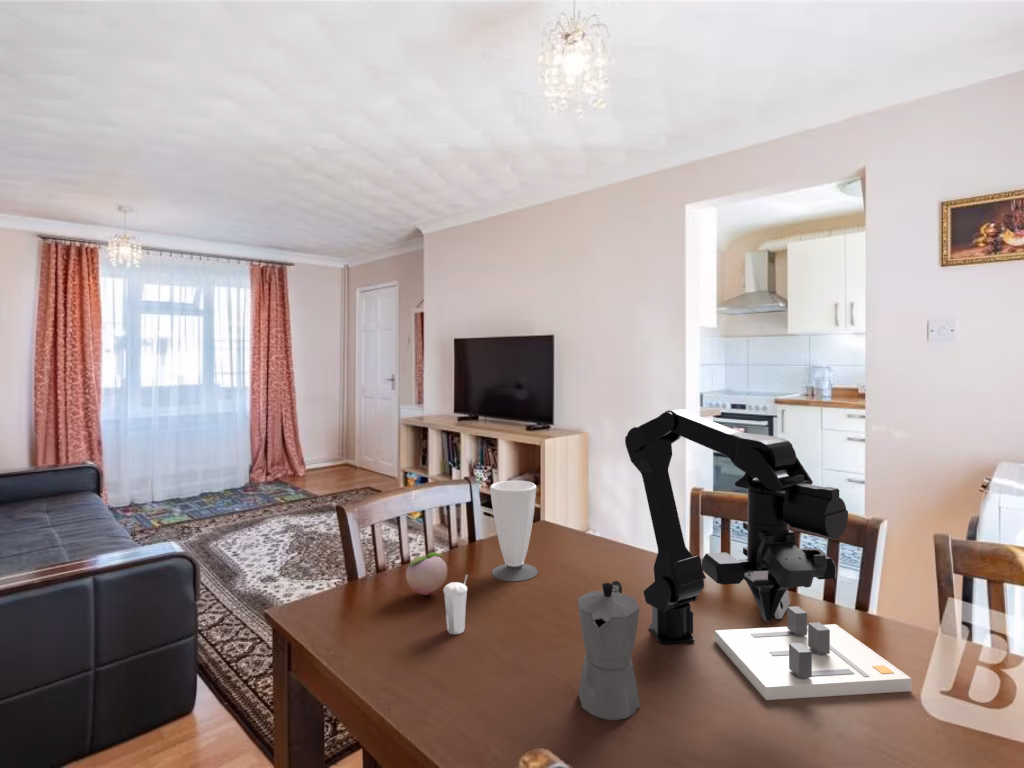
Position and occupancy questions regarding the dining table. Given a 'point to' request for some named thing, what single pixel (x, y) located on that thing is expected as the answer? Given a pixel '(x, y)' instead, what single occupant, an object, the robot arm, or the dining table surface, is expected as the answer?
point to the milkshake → (455, 606)
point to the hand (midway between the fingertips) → (767, 620)
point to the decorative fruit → (426, 573)
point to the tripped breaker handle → (800, 660)
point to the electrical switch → (782, 606)
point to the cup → (513, 527)
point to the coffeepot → (608, 652)
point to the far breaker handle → (797, 620)
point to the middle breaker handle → (819, 638)
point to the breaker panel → (832, 674)
